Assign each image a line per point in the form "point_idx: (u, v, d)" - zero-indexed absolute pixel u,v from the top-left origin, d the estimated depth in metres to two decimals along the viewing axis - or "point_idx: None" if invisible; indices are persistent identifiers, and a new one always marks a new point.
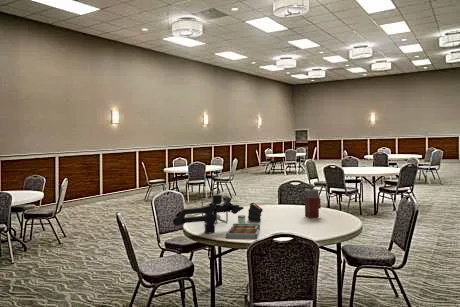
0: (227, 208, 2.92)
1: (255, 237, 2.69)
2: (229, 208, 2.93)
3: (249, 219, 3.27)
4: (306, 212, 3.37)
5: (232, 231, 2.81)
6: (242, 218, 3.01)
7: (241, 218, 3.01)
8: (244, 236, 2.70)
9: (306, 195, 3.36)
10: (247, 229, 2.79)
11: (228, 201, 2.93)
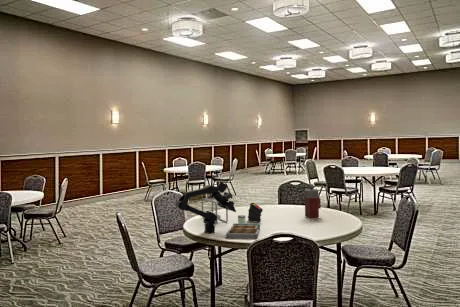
0: (223, 201, 2.93)
1: (255, 237, 2.69)
2: (225, 202, 2.93)
3: (249, 219, 3.27)
4: (306, 212, 3.37)
5: (232, 231, 2.81)
6: (242, 218, 3.01)
7: (241, 218, 3.01)
8: (244, 236, 2.70)
9: (306, 195, 3.36)
10: (247, 229, 2.79)
11: (228, 196, 2.95)
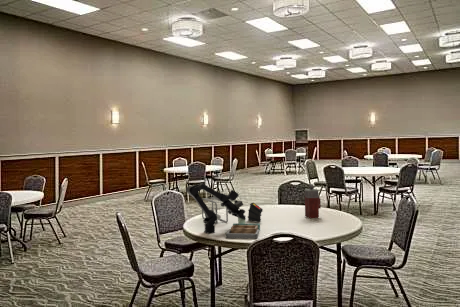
0: (234, 209, 2.97)
1: (255, 237, 2.69)
2: (236, 210, 2.98)
3: (249, 219, 3.27)
4: (306, 212, 3.37)
5: (232, 231, 2.81)
6: None
7: None
8: (244, 236, 2.70)
9: (306, 195, 3.36)
10: (247, 229, 2.79)
11: (239, 204, 3.00)
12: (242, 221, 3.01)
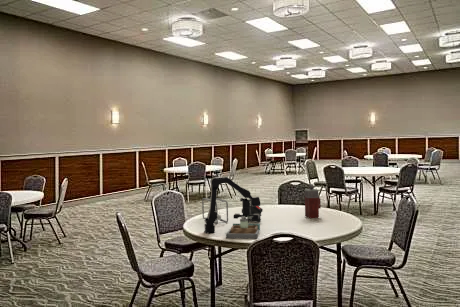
0: (250, 211, 2.95)
1: (255, 237, 2.69)
2: (250, 213, 2.96)
3: None
4: (306, 212, 3.37)
5: (232, 231, 2.81)
6: (242, 222, 2.82)
7: (241, 221, 2.82)
8: (244, 236, 2.70)
9: (306, 195, 3.36)
10: (247, 229, 2.79)
11: None
12: (242, 225, 2.82)
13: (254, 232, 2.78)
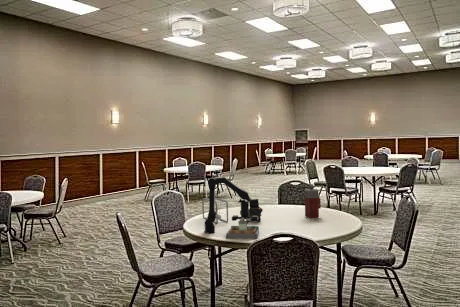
0: (248, 213, 2.88)
1: (255, 237, 2.69)
2: (248, 215, 2.88)
3: None
4: (306, 212, 3.37)
5: None
6: (240, 224, 2.74)
7: (239, 224, 2.75)
8: (244, 236, 2.70)
9: (306, 195, 3.36)
10: (245, 232, 2.72)
11: (249, 213, 2.93)
12: (240, 227, 2.75)
13: None
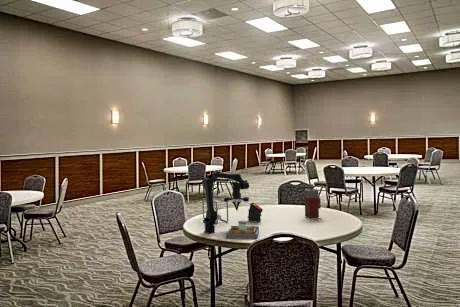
0: (240, 194, 3.03)
1: (255, 237, 2.69)
2: (240, 196, 3.03)
3: (249, 219, 3.27)
4: (306, 212, 3.37)
5: None
6: (240, 224, 2.74)
7: (239, 224, 2.75)
8: (244, 236, 2.70)
9: (306, 195, 3.36)
10: (245, 232, 2.72)
11: None
12: (240, 227, 2.75)
13: None
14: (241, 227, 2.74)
